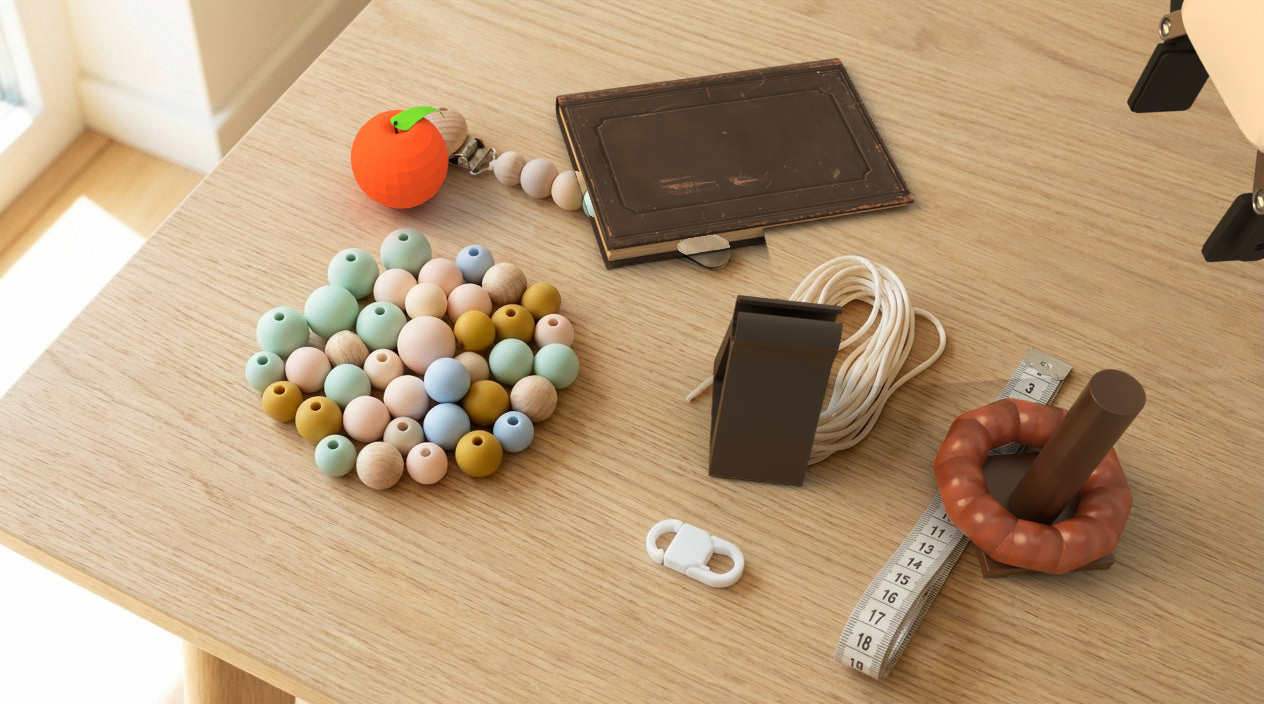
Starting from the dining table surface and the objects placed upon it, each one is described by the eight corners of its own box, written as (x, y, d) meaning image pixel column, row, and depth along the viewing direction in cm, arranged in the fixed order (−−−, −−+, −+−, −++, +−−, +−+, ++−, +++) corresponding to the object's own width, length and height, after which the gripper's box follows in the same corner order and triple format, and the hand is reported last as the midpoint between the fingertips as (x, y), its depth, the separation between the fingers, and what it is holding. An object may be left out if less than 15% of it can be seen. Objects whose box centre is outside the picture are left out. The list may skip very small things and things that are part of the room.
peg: (1067, 456, 79) (1162, 327, 68) (1109, 568, 75) (1218, 451, 63) (948, 464, 78) (1023, 335, 67) (983, 578, 74) (1070, 460, 62)
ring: (1081, 408, 80) (1098, 384, 78) (1146, 576, 73) (1166, 555, 71) (910, 418, 79) (922, 394, 77) (959, 588, 72) (974, 568, 70)
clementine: (414, 138, 93) (407, 65, 87) (480, 184, 90) (478, 112, 85) (336, 194, 89) (323, 122, 83) (402, 243, 87) (394, 173, 81)
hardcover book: (906, 221, 90) (914, 199, 88) (605, 269, 86) (607, 247, 84) (831, 75, 99) (837, 53, 97) (554, 113, 95) (555, 91, 93)
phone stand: (713, 362, 82) (741, 245, 72) (802, 372, 82) (842, 257, 72) (707, 477, 77) (735, 368, 67) (801, 488, 77) (844, 381, 67)
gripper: (1632, 4, 40) (1346, 316, 54) (1388, -274, 50) (1198, 54, 64) (1419, 13, 40) (1185, 326, 54) (1213, -269, 49) (1061, 60, 63)
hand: (1193, 178), depth 59 cm, fingers open, 9 cm apart
